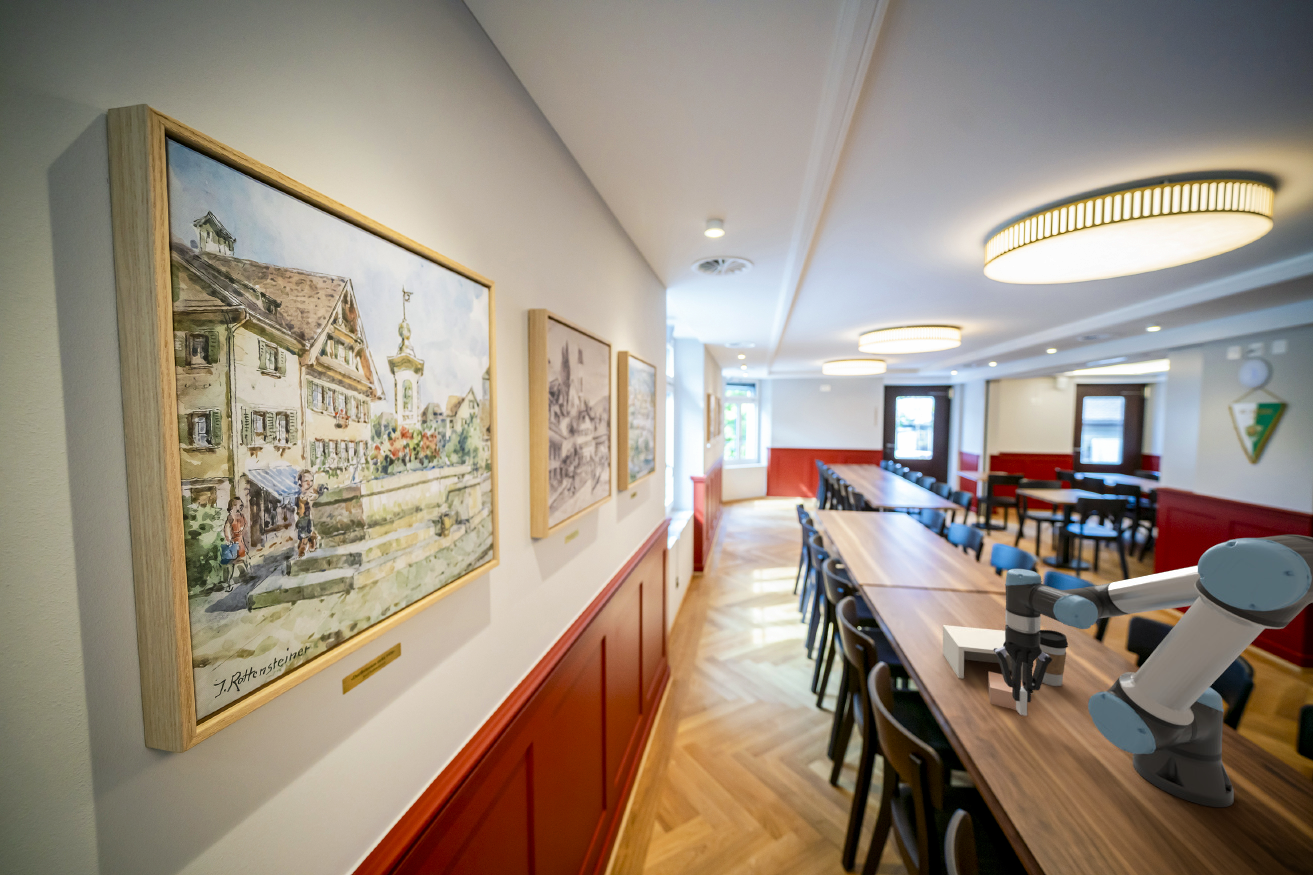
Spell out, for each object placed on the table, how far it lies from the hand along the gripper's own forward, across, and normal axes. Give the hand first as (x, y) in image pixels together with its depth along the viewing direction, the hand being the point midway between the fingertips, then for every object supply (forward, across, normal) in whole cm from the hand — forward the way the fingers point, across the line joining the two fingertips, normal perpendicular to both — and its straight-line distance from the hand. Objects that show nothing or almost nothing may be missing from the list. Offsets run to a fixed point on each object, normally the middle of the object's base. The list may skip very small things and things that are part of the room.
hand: (1021, 711), depth 128 cm
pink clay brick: (+2, 0, -10) cm, 10 cm away
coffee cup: (+2, -17, -24) cm, 29 cm away
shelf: (+2, 0, -27) cm, 27 cm away
